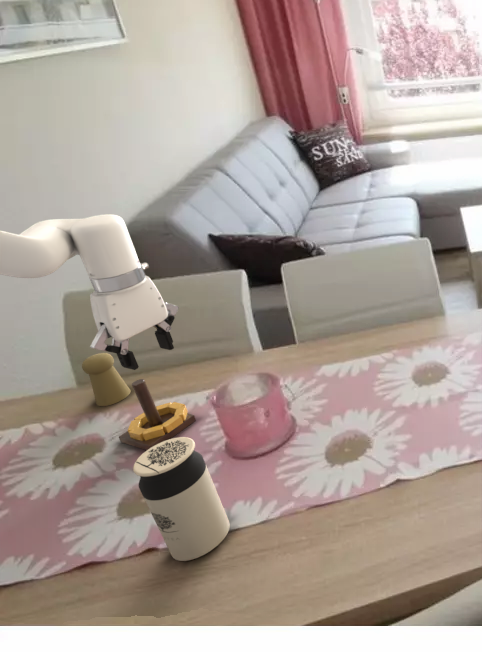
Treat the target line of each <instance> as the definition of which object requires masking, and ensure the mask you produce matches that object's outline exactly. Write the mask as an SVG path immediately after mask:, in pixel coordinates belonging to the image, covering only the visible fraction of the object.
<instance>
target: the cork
mask: <svg viewBox="0 0 482 652" xmlns="http://www.w3.org/2000/svg"><path fill="white" fill-rule="evenodd" d="M114 364H115V359H114V356H112V355H111V354H110V353H109V352H99V353H95V354H93V355H90V356H88V357H87V358H85V359H84V360H83V361H82V363H81V369H82V371H83V372H84V373H85V374H87V375H88V376H89V380H90V384H91V389H92V392H93V396H94V401H95V404H96V406H99V407H107V406H111V405H113V404H117V403H119V402H121V401H123V400H124V399H126V398H127V397H129V395H130V394H131V391H132V390H131V389H130V387H129V386H128V384H127V383H126V382H125V380H124V379H123V377H122V376H121V375H120V373H119V372H118V371H117V368H115V366H114Z"/></svg>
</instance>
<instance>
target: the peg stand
mask: <svg viewBox="0 0 482 652" xmlns="http://www.w3.org/2000/svg"><path fill="white" fill-rule="evenodd" d="M131 386H132V389H133V391H134V393H135V396H136V398H137V400H138V402H139V405H140V407H141V409H142V411H143V413H144V414H145V416H146V418H147V420H148V422H147V423H146V424H144V425H143V427H142V428H144V429H148V428H152V427H155V426H158V425H162V424H163V423H165V422H166V421H168V420H169V419H171V418H172V417H174V415H175V414H173V413H168V414H164V415H161V416H160V415H159V413H158V410H157V408H156V406H157V405H156V403H155V401H154V399H153V396H152V394H151V392H150V390H149V388H148V385H147V383H146V381H145V379H144V378H143V379H142V378H140V379H136V380H135V381H133V382H132V383H131ZM196 421H197V419H196V417H195V415H194V414H192V413H188V412H187V416H186V419H185V421H183V423H182V424H180V425H179V426H178V427H176V428H175V429H173V430H172V431H170V432H169V433H166V432H165V435H163V436H159V437H156V438H153V439H149V440H146V441H145V439H144V440H143V441H140V440H137V439H133V438H131V437H130V435H129V433H128V431H127V430H126V431H125V432H123V433H122V434H120V435H119V436H118V440H119V441H120V443H122V444H124V445H128V446H133V447H135V448H138V449H143V450H146V451H147V450H148V449H150V448H151V447H153V446H155V445H157V444H159V443H161V442H163V441H166V440H169V439H173V438H174V437H175V436H176V435H178V434H179V433H181V432H182V431H183V430H185V429H187V427H189V426H190V425H192V424H193V423H195V422H196Z"/></svg>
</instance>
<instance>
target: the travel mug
mask: <svg viewBox="0 0 482 652" xmlns="http://www.w3.org/2000/svg"><path fill="white" fill-rule="evenodd" d="M195 448H196V443H195V440H194V439H192V438H190V437H187V436H180V437H172V438H171V439H169V440H166V441H163V442H161V443H159V444H157V445H155V446H153V447H151V448H150V449H148V450H146V451H144V452H143V453H142V454H140V455H139V457H137V459H136V460H135V462H134V464H133V467H132V471H133V473H134V475H136V476H139V477H140V478H139V481H138V489H139V491H140V493H141V495H142V498H143V499H144V501H145V503H146V505H147V508H148V510H149V512H150V514H151V516H152V518H153V521H154V522H155V524H156V526H157V528H158V531H159V532H160V535H161V537H162V538H163V541H164V543H165V545H166V547H167V550H168V551H169V553H170V555H171V557H172V558H173V559H174V560H176V561H180V562H187V561H191V560H194V559H198V558H200V557H202V556H204V555H206V554H208V553H209V552H211V551H212V550H214V549H215V548H216V547H217V546H219V545H220V544H221V543H222V542H223V540H225V538H226V537H227V535H228V533H229V531H230V529H231V528H230V527H231V523H230V520H229V518H228V515H227V512H226V510H225V508H224V506H223V503H222V501H221V498H220V496H219V494H218V491H217V488H216V486H215V484H214V481H213V479H212V476H211V474H210V472H209V471H210V470H209V469H208V467H207V466H208V465H207V463H206V462H205V459H204V456H203V455H202V453H200V452H198V451H197V450H195Z"/></svg>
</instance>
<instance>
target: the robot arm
mask: <svg viewBox="0 0 482 652" xmlns="http://www.w3.org/2000/svg"><path fill="white" fill-rule="evenodd" d="M125 222H126V221H125V220H124V219H123V218H122V217H121V216H119V215H117V214H109V213H108V214H105V213H104V214H97V215H92V216H87V217H84V218H54V219H53V218H51V219H45V220H40V221H37V222H36V223H33V225H30V226H29V227H28V228H26V229H25V230H23V231H22V232H20V233H18V234H17V233H13V232H8V231H4V230H0V275H1V276H6V277H11V278H17V279H38V278H39V279H40V278H44V277H46V276H49V275H51V274H53V273H55V272H56V271H58V270H59V269H60V268H61V267H62V266H63V265H64V264H65V263H67V261H68V260H70V259H72V258H73V257H75V256H79V257H80V259H81V262H82V264H83V266H84V269H85V271H86V273H87V276H88V278H89V281H90V284H91V285H92V287H93V290H94V291H92V292H90V294H89V297H90V298H89V299H90V306H91V312H92V316H93V320H94V323H95V326H96V330H97V332H96V334H95V337H94V338H93V339H92V341H91V343H90V346H89V348H90V349H93V350H98V351H101V352H102V351H103V352H106V353H112V354H116V356H117V359H118V361H119V363H120V365H121V367H122V368H125V369H129V370H132V371H136V370H137V369H139V364H138V361H137V359H136V357H135V354H134V351H132V350H129V347H130V339H131V338H133V337H135V336H137V335H139V334H141V333H143V332H145V331H146V330H148V329H150V328H155V331H154V336H155V338H156V340H157V343H158V346H159V348H160V349H164V350H168V351H172V350H174V349H175V346H174V340H173V337H172V334H171V332H170V331H172V325H173V323H174V320H175V319H176V317H175V316H176V315H177V313H178V311H179V309H180V306H179V305H176V304H173V303H169V302H165V301H164V299H163V297H162V294H161V293H160V291H159V289H158V288H157V286H156V285H155V283H154V282H153V280H152V279H151V278H150V276H148V275H146V272H145V271H146V270H147V269H149V268H150V266H149V263H148V262H140V260H139V258H138V254H137V252H136V248H135V245H134V243H133V240H132V238H131V235H130V233H129V230H128V227H127V225H126V223H125ZM111 338H112V339H111ZM107 339H111V344H108V343H107V344H106V341H107Z"/></svg>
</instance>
